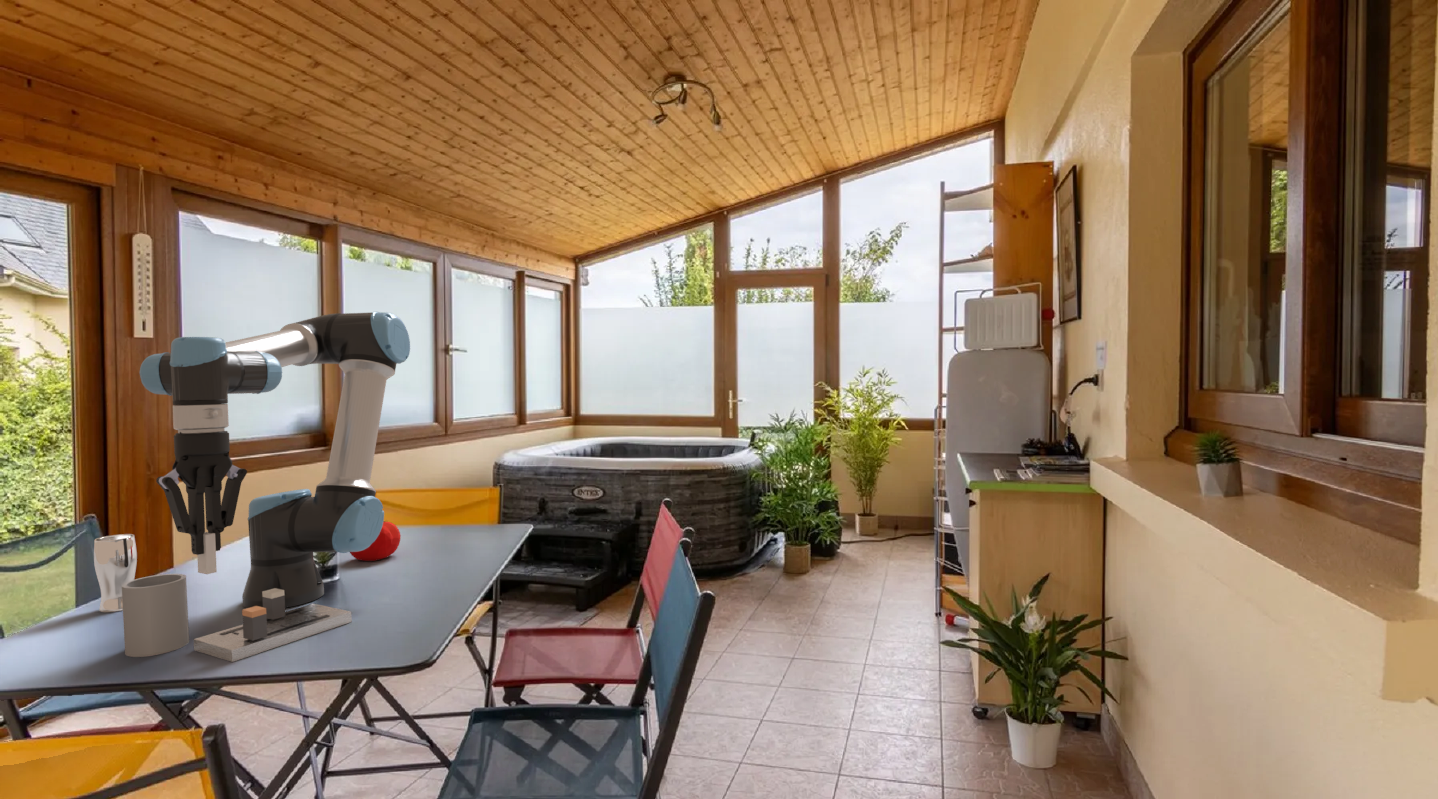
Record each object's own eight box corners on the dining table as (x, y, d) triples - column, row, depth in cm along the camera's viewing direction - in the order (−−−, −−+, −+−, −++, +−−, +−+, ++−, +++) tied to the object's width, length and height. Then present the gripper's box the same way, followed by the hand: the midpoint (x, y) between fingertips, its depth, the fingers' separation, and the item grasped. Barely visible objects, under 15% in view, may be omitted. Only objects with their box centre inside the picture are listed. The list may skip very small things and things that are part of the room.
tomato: (343, 559, 194) (341, 520, 193) (393, 550, 202) (392, 513, 202) (357, 567, 185) (355, 526, 185) (408, 557, 194) (407, 518, 194)
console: (194, 650, 130) (193, 638, 130) (313, 613, 150) (313, 603, 150) (232, 662, 125) (231, 649, 125) (351, 621, 144) (351, 611, 144)
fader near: (243, 637, 130) (242, 609, 129) (257, 633, 132) (256, 605, 131) (253, 640, 128) (252, 612, 128) (267, 636, 130) (266, 608, 130)
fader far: (263, 617, 140) (262, 591, 140) (276, 613, 142) (274, 588, 142) (272, 619, 139) (271, 593, 139) (285, 616, 141) (284, 590, 141)
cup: (117, 660, 126) (113, 591, 126) (134, 642, 135) (131, 577, 134) (181, 651, 130) (178, 583, 130) (194, 634, 138) (191, 571, 138)
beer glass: (146, 605, 157) (142, 535, 157) (108, 615, 151) (104, 542, 151) (127, 601, 160) (124, 532, 160) (89, 611, 154) (85, 539, 153)
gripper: (169, 434, 115) (175, 585, 115) (255, 428, 126) (260, 565, 127) (144, 433, 118) (150, 579, 119) (230, 427, 130) (235, 561, 130)
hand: (207, 572), depth 123 cm, fingers closed
